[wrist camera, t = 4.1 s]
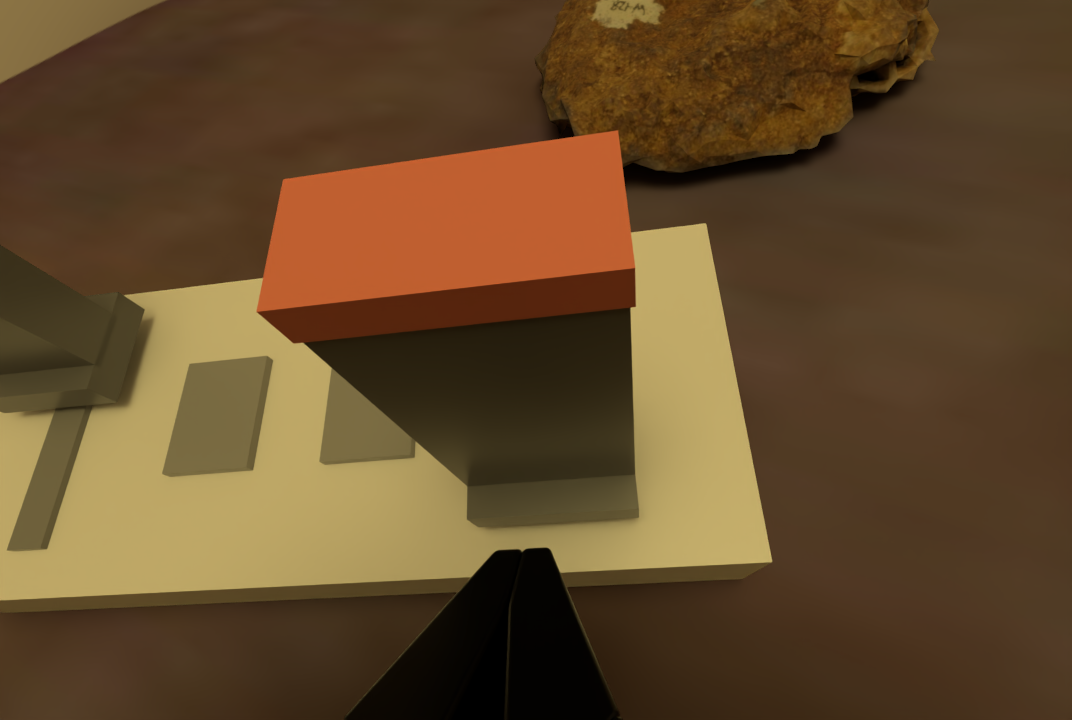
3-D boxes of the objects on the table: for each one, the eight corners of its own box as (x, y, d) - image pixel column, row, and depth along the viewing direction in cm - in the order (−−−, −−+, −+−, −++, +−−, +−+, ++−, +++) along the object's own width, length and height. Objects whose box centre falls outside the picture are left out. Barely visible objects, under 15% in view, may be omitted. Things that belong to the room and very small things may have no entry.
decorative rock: (847, -38, 27) (530, 57, 28) (874, -147, 23) (509, -32, 25) (981, 127, 21) (575, 234, 22) (1045, 16, 17) (557, 152, 19)
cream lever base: (742, 578, 16) (774, 560, 12) (11, 612, 19) (-149, 606, 15) (693, 297, 20) (707, 216, 16) (93, 362, 23) (-18, 307, 19)
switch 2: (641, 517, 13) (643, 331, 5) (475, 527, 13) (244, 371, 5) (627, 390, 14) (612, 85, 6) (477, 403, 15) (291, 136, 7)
